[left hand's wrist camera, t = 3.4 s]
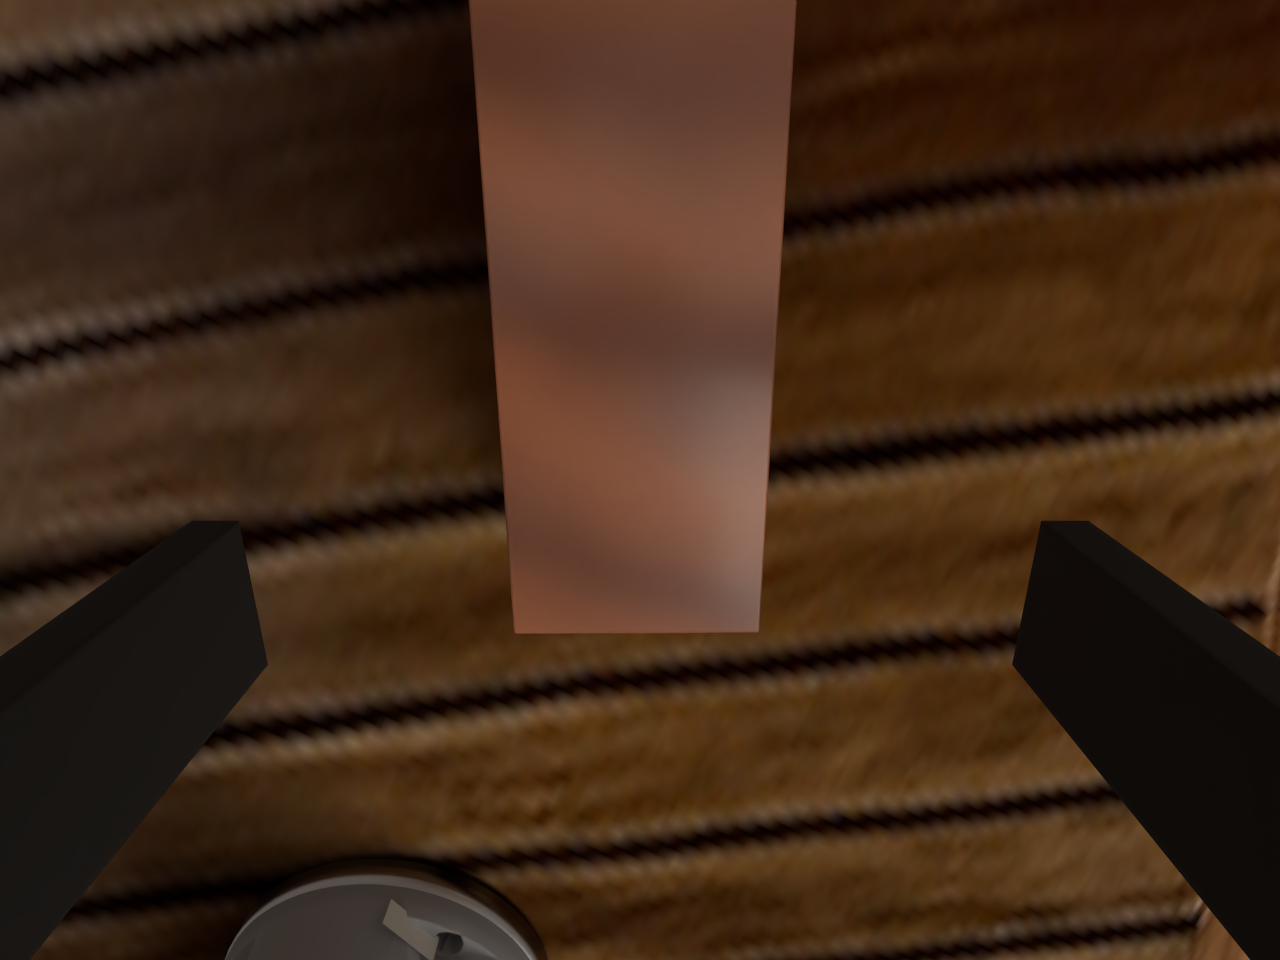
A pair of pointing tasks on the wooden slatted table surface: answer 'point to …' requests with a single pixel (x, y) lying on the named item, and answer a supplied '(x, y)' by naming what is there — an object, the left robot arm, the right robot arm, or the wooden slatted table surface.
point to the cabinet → (634, 301)
